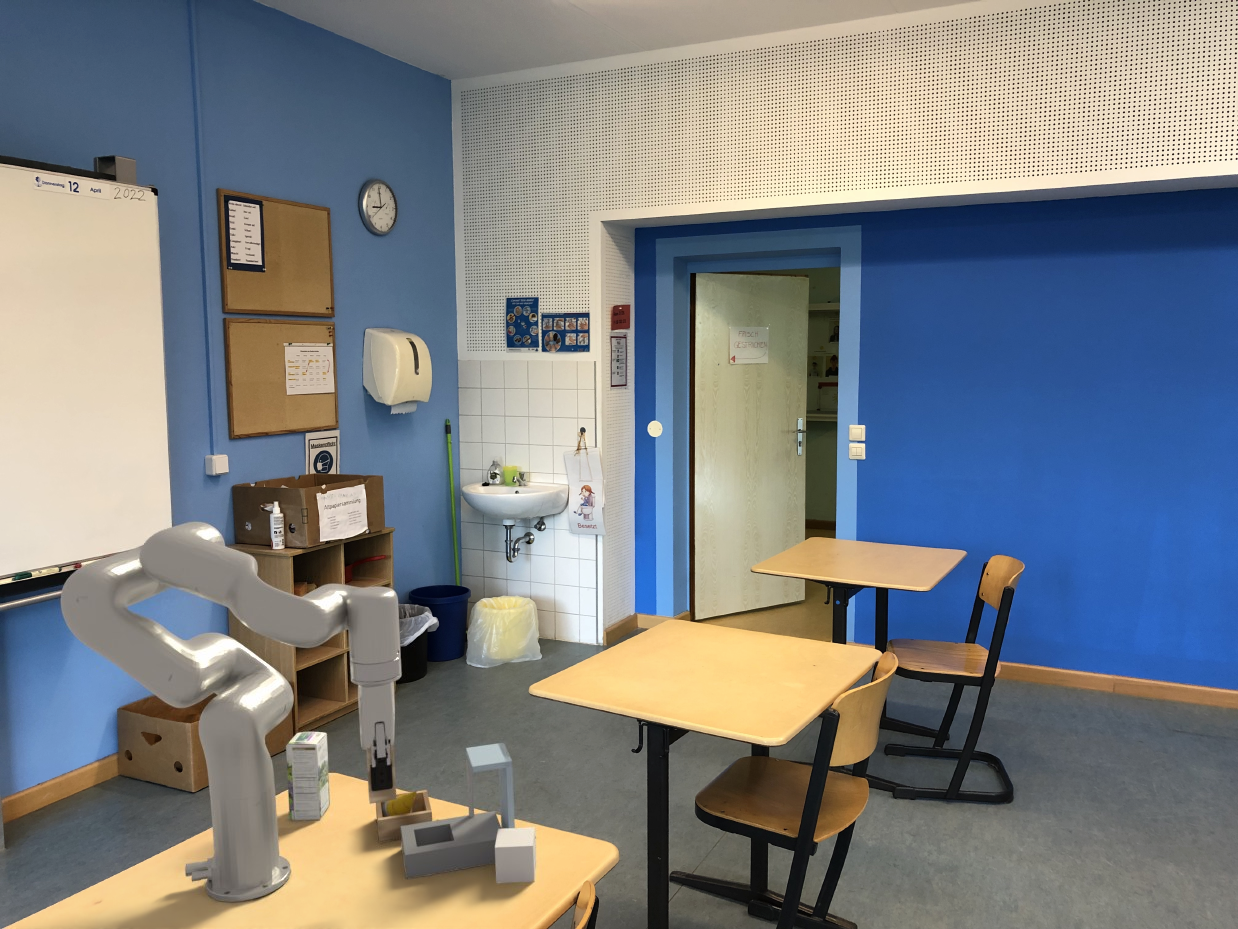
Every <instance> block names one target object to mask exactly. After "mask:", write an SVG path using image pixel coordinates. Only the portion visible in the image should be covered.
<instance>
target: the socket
mask: <svg viewBox="0 0 1238 929" xmlns="http://www.w3.org/2000/svg"><path fill="white" fill-rule="evenodd" d="M498 829H502V828H501V822H500V820H499V818H498V816H497V812H496V810H492V811H486V812H480V813H474V817H469V814H467V815H461V816H455V817H450V818H448V817H447V818H444V819H443V818H442V819H438V820H432V821H430V822H424V823H418V824H411V825H405V826H401V839H400V840H401V841H400V842H401V852H402V858H403V859H402V860H403V866H404V871H405V878H406V880H408V879H415V878H420V877H425V876H430V875H431V876H432V875H436V874H442V873H447V872H452V871H458V870H464V869H470V868H474V867H481V866H486V865H493V864H495V844H496V838H497V833H498Z"/></svg>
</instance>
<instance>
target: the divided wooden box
mask: <svg viewBox="0 0 1238 929" xmlns="http://www.w3.org/2000/svg"><path fill="white" fill-rule="evenodd" d="M416 791H417V790H416ZM411 792H412V791H410V792H405V793H398V794H397V793H396V795H399V796H400V795H404V794H407V793H411ZM428 794H429V793H428V790H427V789H423V790H418V791H417V793H416V796H415V799H414V802H413V806H412V813H408V814H402V815H396V816H390V817H384V815H383V811H382V807H383V804H384V802H378V803H375V813H376V825H377V834H378V843H379V844H380V843H381V844H382V843H386V842H392V841H398V840H399V841H400V840H401V826H405V825H411V824H418V823H424V822H430V821H433V813H432V812H433V811H432V807H431V803H430V798H429V795H428Z"/></svg>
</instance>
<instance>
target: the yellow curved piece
mask: <svg viewBox="0 0 1238 929" xmlns="http://www.w3.org/2000/svg"><path fill="white" fill-rule="evenodd" d="M410 792H411V793H409V792H406V793H407V794H404V795H400V796H399V795H396V800H392V801H385V802H384V804H383V807H382V811H383V815H384V817H390V816H396V815H402V814H408V813H412V806H413V802H414V799H415V796H416V793H417V790H415V791H410Z"/></svg>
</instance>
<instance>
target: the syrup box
mask: <svg viewBox="0 0 1238 929" xmlns="http://www.w3.org/2000/svg"><path fill="white" fill-rule="evenodd" d="M327 735H328V734H327V732H322V731H321V732H319V731H303V732H297V733H296V734H295V735H294V736H292V738H291V739H290V741H288V742H287V744H286V745H285V750H286V771H287V773H286V774H287V775H286V776H287V793H288V812H289V813H288V814H289V821H315V820H318V821H319V820H321V819H322V818H323V816H324V815H325V813H326V812H327V810H328V809H329V807H330V805H331V798H330V797H331V796H330V780H329V778H330V777H329V757H328V756H329V754H328V736H327Z"/></svg>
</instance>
